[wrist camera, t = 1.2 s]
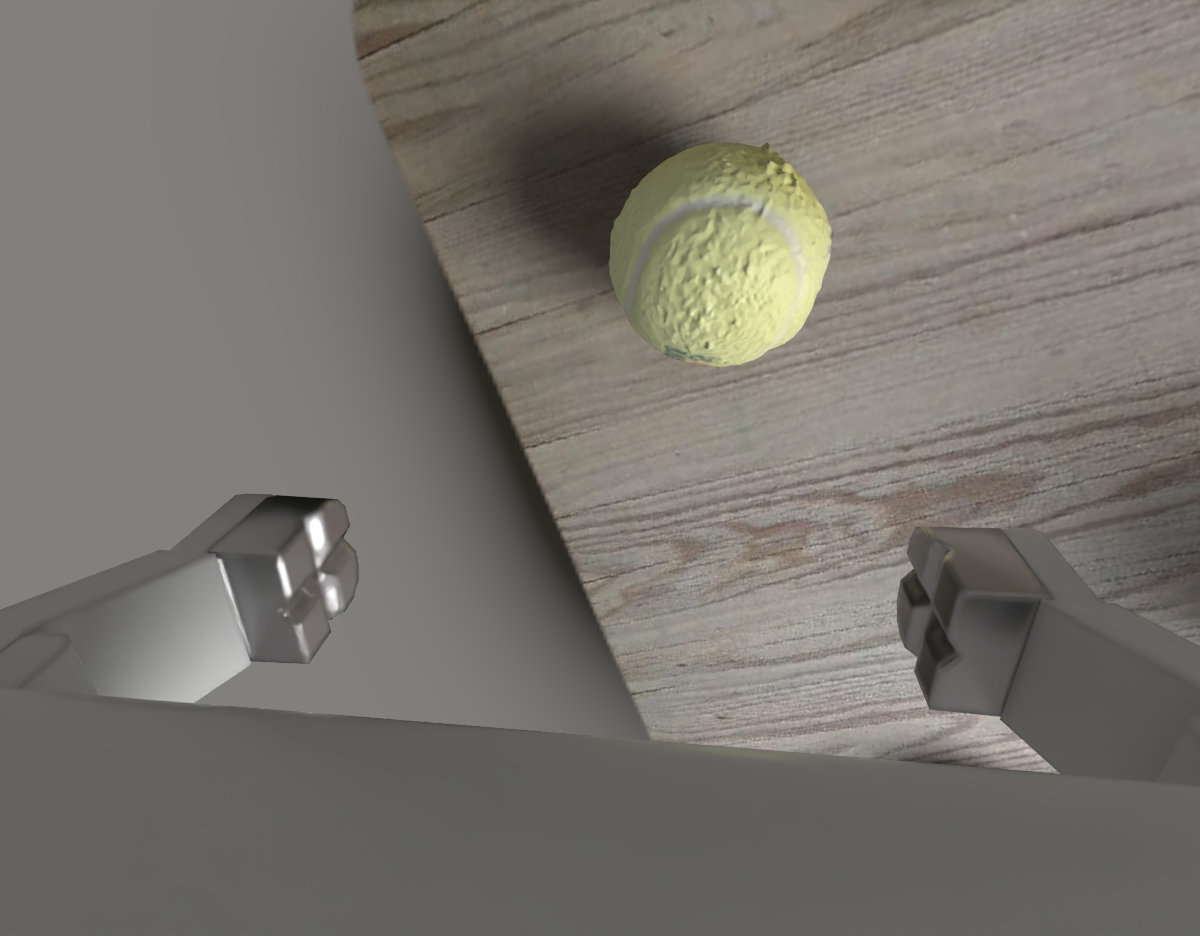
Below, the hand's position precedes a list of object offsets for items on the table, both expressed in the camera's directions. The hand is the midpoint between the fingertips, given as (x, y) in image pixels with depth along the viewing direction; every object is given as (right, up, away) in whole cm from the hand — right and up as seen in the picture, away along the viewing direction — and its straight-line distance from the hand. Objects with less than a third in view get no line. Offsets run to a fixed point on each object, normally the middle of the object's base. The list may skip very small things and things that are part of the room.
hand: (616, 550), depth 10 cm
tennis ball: (+4, +9, +14) cm, 17 cm away
